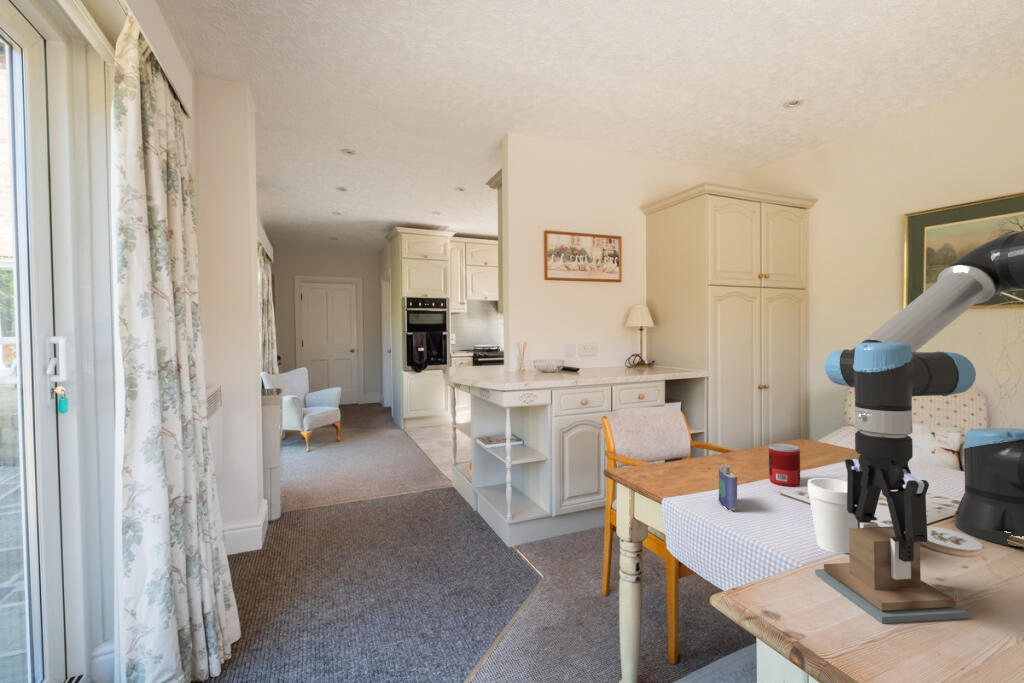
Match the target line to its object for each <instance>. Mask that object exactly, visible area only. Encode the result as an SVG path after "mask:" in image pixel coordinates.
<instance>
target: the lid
mask: <svg viewBox="0 0 1024 683" xmlns="http://www.w3.org/2000/svg"><path fill="white" fill-rule="evenodd" d="M904 533H906V531H905V532H904ZM891 537H895V533H894V528H893V525H892V526H878V527H869V528H849V549H850V554H849V562H841V563H840V562H839V563H835V562H834V563H823V569H824V571H825V572H827V573H828V574H830V575H831V576H833V577H834V578H836V579H837V580H838V581H840V582H841V583H843V584H844V585H846V586H847V587H848V588H850V589H851V590H853V591H854V592H856V593H857V594H859V595H860V596H861V597H863V598H864V599H866V600H867V601H869V602H870V603H872V604H873V605H874V606H876V607H877V608H879V609H880V610H882V611H887V610H904V609H921V608H939V607H954V605H955V598H953V597H951V596H950V595H948V594H946V593H944V592H942V590H941V591H940V590H939V589H938V588H935V587H933V586H932V585H930V584H928V583H927V582H925V581H923V580H922V577H921V576H922V575H921V542H914V560H913V561H911V579H898V580H895V579H893V578H892V577H891Z"/></svg>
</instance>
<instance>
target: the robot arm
mask: <svg viewBox="0 0 1024 683" xmlns="http://www.w3.org/2000/svg"><path fill="white" fill-rule="evenodd" d="M936 280H937V281H936V282H935V283H933V284H932V285H931V286H930V287H929V288H928V289H926V290H925V291H924V292H922V293H921V294H920V295H919V296H917V297H916V298H915V299H914V300H912V301H911V302H910V303H908V305H906V306H905V307H904V308H903V309H901V310H900V311H899V312H898V313H897V314H895V315H894V316H892V317H891V318H890V319H888V320H887V322H885V323H884V324H883V325H881V326H880V327H879V328H878V329H876V330H875V331H874V332H872V333H871V334H870V335H868V337H866V339H864V340H863V341H861V342H860V343H858V344H857V345H856V346H855V347H854V348H852V349H842V350H841V349H840V350H836V351H832V352H831V353H830V354H829V355H828V356H827V358H826V360H825V363H824V371H825V374H826V376H827V378H828V379H829V380H830V381H831V383H834V384H835V385H839V386H845V387H850V388H853V389H854V426H855V429H857V430H858V431H856V432H855V433H854V451H855V452H856V454H858V455H859V457H858V458H847V459H845V460H844V464H845V467H846V473H847V478H846V479H847V480H846V481H847V511H848V512H849V513H852V514H854V515H855V518H856V520H858V528H869V527H879V523H878V522H876V521H877V520H878V518H877V517H876V516H875V515H876V511H877V508H878V504H879V500H880V495H881V494H882V496H884V497H885V499H886V502H887V507H888V510H889V514H890V515H889V516H890V519H891V522H892V523H891V524H892V526H893V528H894V533H895V537H891V577H892V578H893V579H895V580H898V579H911V561H913V560H914V542H920V543H927V542H928V539H929V537H928V518H927V517H928V516H927V498H926V496H927V493H928V490H929V486H930V483H929V482H928V481H927V480H926V479H918V478H917V477H916V476H914V475H912V472H911V469H910V467H909V462H910V461H911V459H913V455H914V453H913V452H914V450H913V438H912V437H911V436H910V435H911V434H913V397H932V396H934V397H936V396H941V397H947V396H952V395H958V394H962V393H964V392H966V391H968V390H970V389H971V388H972V386H973V385H974V384H975V382H976V375H977V374H976V368H975V366H974V363H972V362H971V360H970V359H968V358H967V357H966V356H965V355H963V354H960V353H957V352H951V351H950V352H949V351H948V352H947V351H934V352H933V351H932V352H931V351H930V352H922V351H921V352H920V351H919V352H918V350H920V349H921V348H922V347H924V345H926V344H927V343H928V342H929V341H931V340H932V339H933V338H935V336H937V335H938V334H939V333H940V332H942V331H943V330H944V329H945V328H947V327H948V326H950V324H951V323H953V322H954V321H955V320H957V318H959V317H961V316H962V314H964V313H965V312H967V311H968V310H969V309H970V308H971V307H972V306H974V305H978V304H982V303H985V302H987V301H989V300H991V299H992V297H994V296H995V295H998V294H1002V293H1005V292H1011V291H1017V290H1018V291H1020V290H1021V291H1022V290H1024V231H1019V232H1018V231H1017V232H1014V233H1008V234H1006V235H1002V236H1000V237H999V236H998V237H996V238H994V239H992V240H989V241H987V242H985V243H983V244H981V245H978V247H977V246H976V247H975V248H974V249H971V250H970V251H969V252H967V253H965V254H964V255H962V256H960V257H959V258H958V259H956V260H954V261H953V262H952V263H951V264H949V265H948V266H947V267H945V268H944V269H942V271H941V272H940V273H939V274H938V276H937V279H936ZM963 443H964V444H963V447H962V449H963V461H964V462H963V463H964V494H963V496H962V497H961V500H960V502H959V504H958V506H957V509H956V510H955V512H954V514H953V515H954V519H953V520H954V521H953V523H954V526H955V527H956V528H957V529H959V530H960V531H962V532H963V533H966V534H967V535H970V536H974V537H976V538H979V539H981V540H985V541H988V542H992V543H995V544H998V545H1004V546H1008V547H1011V546H1010V544H1008V542H1007V539H1009V537H1008V536H1011V535H1013V536H1020V537H1022V536H1024V428H1012V427H1011V428H1010V427H1007V428H1006V427H1004V428H1003V427H1001V428H999V427H998V428H997V427H992V428H991V427H989V428H988V427H985V428H973V429H969V430H967V431H966V433H965V435H964V442H963ZM855 505H857V506H855ZM1004 531H1007V532H1011V533H1006V532H1004ZM904 532H906V533H904Z"/></svg>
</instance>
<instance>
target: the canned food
mask: <svg viewBox="0 0 1024 683" xmlns="http://www.w3.org/2000/svg"><path fill="white" fill-rule="evenodd" d="M768 474H769V475H768V478H769V481H770V483H772V484H774V485H776V486H781V487H788V488H795V487H799V486H800V484H801V449H800V447H799V446H797V445H794V444H788V443H771V444H769V445H768Z"/></svg>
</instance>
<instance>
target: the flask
mask: <svg viewBox="0 0 1024 683" xmlns="http://www.w3.org/2000/svg"><path fill="white" fill-rule="evenodd" d="M730 468H731V465H727V464H721V466H720V467H718V502H719V501H720V502H721V504H722V505H723V506H725V507H726V508H727V509H728V510H731V511H737V512H738V509H739V508H738V477H737V475H735V474H734V473H732V472H731V470H730ZM721 504H720V505H721ZM722 505H721V506H722ZM723 506H722V507H723ZM728 510H727V511H728Z"/></svg>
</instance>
